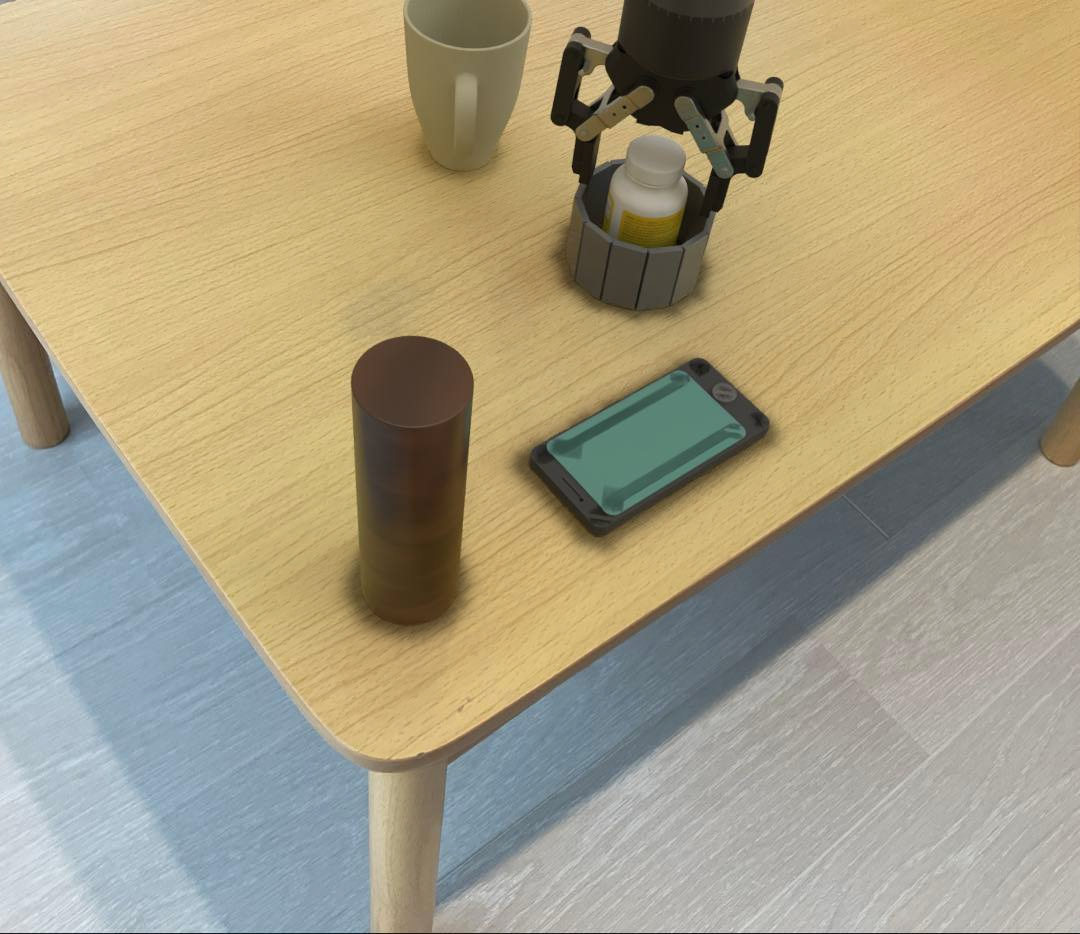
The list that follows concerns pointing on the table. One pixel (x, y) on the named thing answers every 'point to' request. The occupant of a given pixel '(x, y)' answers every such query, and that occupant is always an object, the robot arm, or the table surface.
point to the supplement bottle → (647, 194)
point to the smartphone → (647, 445)
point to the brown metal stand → (411, 474)
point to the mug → (465, 73)
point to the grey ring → (634, 250)
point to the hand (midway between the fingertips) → (646, 193)
